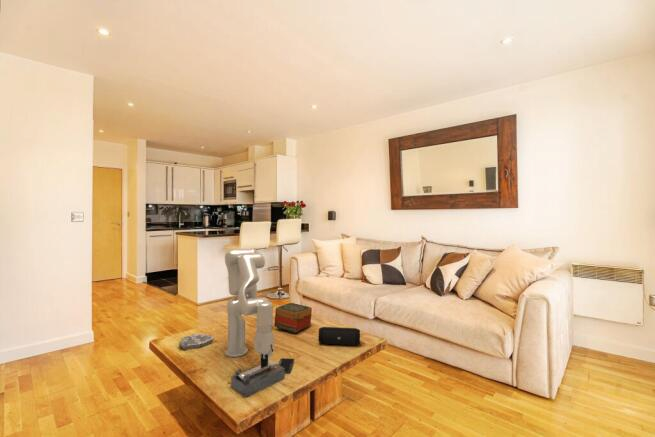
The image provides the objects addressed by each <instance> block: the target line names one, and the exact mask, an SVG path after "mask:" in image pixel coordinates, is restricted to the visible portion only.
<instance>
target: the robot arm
mask: <svg viewBox="0 0 655 437" xmlns="http://www.w3.org/2000/svg"><path fill="white" fill-rule="evenodd" d="M224 264H225V266H226V269H227V273H228V274H227V275H228V277H227V279H228V292H229V295H231V296H238V297H234V298H231V299H229V300H228V301H227V303H226V311H227V312H226V313H227V323H228V324H227V325H228V326H227V343H226V346H227V348H226V350H225V351H224V354H225V356H226V357H228V358H229V357H230V358H238V357H242V356H244V355H246V354H247V353H248V351H249V350H248V349H249V348H248V347H246V320H245V318H244V317H243V316H242V315H244V316H245V317H248V316H254V315H256V329H255V335H254V345H253V346H254V350H255V351H256V352H258V353H259V358H260V364H261V367H265V366H267V365H268V361H269V358H271V357H273V353H274V350H275V341H274V338H275V337H274V332H273V324H274V323H273V316H274V315H273V313H274V312H273V309H274V307H273V306H274V305H273V303H272V302H271V301H269V300H268V298H267V297H258V287H257V284H258V282H259V281H260V277H259V273H258V270H257V269H263V268H264V267H265V265H266V258H265V256H264V255H263V254H262V253H261V252H260V251H258V250H256V249H255V248H243V249H242V248H238V249H237V248H236V249H235V248H234V249H230V250H228V251H226V253H225V255H224Z"/></svg>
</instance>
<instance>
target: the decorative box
mask: <svg viewBox="0 0 655 437" xmlns="http://www.w3.org/2000/svg"><path fill="white" fill-rule="evenodd" d="M312 310H313V308H312V307H311V306H307V305H303V304H298V303H295V302H289V303H286V304H284V305H280V306H277V307H276V308H275V310H274V311H275V313H274V323H273V324H274V327H276V328H277V329H278V330H282V331H286V332H289V333H292V334H297V333H298V332H301V331H302V330H304V329H307V328H309V327H310V326H311V321H312V312H313V311H312Z"/></svg>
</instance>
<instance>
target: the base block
mask: <svg viewBox="0 0 655 437" xmlns="http://www.w3.org/2000/svg"><path fill="white" fill-rule="evenodd" d="M278 364H279V363H278ZM278 364H277V363H276V367H274V368H272V369H271V368H267V369H265V370H263V371H260V372H258V373H256V374H254V375H251V376H249V375H248V374H247V375H245V376H243V380H242V379H241V378H239V377H238V376H237V374H238V373H239V372H241V373H243V372H246V371H248V370H250V369H253V368H255V367H257V366H260V365H261V363H260V364H258V365H256V366H253V367H251V368H248V369H246V370H243V371H242V369H241V368H238V369H236V370H235V371H234V375H232V376H230V387H231V388H232V389H233V390H235V391H236V393H238V394H240V395H242V396H243V397H244V398H248V397H250V396H252V395H254V394H256V393H258V392H260V391H262V390H264V389H267V388H268V387H270V386H272V385H274V384H276V383H278V382H280V381H282V380H284V379H285V377H286V376H285V375H286V374H285V368H283V367H281V366H280V365H278Z"/></svg>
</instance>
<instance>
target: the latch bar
mask: <svg viewBox="0 0 655 437" xmlns="http://www.w3.org/2000/svg"><path fill="white" fill-rule="evenodd" d="M276 364H277V363H276V362H275V361H273V360H271V359H268V365H267V366H265V367H261V365H260V364H259V365H260V366H257V365H256V366H257V367H255V366H254V367H255V368H253V369H250V368H249V369H250V370H248V369H247V370H248V371H246V372H243V371H241V372H243V373H241V372H239V373H238V374H237V376H238V377H239V378H241V379H242V380H243V376H245V375H247V374H248V375H249V376H251V375H254V374H256V373H258V372H260V371H263V370H265V369H267V368H271V369H272V368H274V367H276Z"/></svg>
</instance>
